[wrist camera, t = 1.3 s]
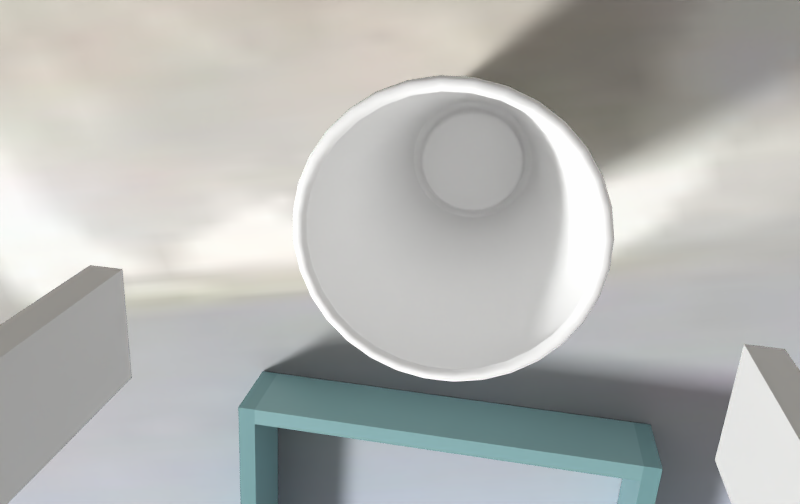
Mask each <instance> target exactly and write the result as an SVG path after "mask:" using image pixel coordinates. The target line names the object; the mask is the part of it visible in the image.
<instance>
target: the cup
mask: <svg viewBox="0 0 800 504" xmlns="http://www.w3.org/2000/svg"><path fill="white" fill-rule="evenodd" d="M293 242H294V246H295V251H296V255H297V260H298V264H299V269H300V271H301V274H302V276H303V278H304V281H305V283H306V285H307V288H308V290H309V292H310V295H311V297H312V298H313V300H314V301H315V303H316V304H317V306H318V307H319V309H320V310H321V312H322V313H323V315H324V316H325V318H326V319H327V320H328V321H329V322H330V323H331V324H332V325H333V327H334V328H335V329H336V330H337V331H338V332H339V333H340V334H341V335H342V336H343V337H344V338H345V339H346V340H347V341H348V342H350V343H351V344H353V345H354V346H355V347H357V348H358V349H360V350H361V351H362V352H364V353H365V354H366V355H368V356H369V357H371V358H373V359H375V360H377V361H379V362H381V363H383V364H385V365H387V366H389V367H391V368H393V369H395V370H398V371H401V372H404V373H408V374H411V375H415V376H418V377H422V378H426V379H435V380H443V381H452V382H456V381H473V380H484V379H489V378H493V377H497V376H501V375H505V374H509V373H512V372H515V371H517V370H519V369H521V368H524V367H526V366H528V365H530V364H533V363H535V362H537V361H539V360H540V359H542V358H543V357H545V356H546V355H547V354H549V353H550V352H552V351H553V350H555V349H556V348H558V347H559V346H560V345H562V344H563V343H564V342H565V341H566V340H567V339H568V338H569V337H570V336H571V335H572V334H573V333H574V332H575V331H576V330H577V329H578V327H579V326H580V325H581V324H582V323H583V322H584V321H585V319H586V317H587V316H588V314H589V313H590V311H591V309H592V308H593V306H594V305H595V303H596V302H597V300H598V298H599V296H600V294H601V291H602V288H603V286H604V283H605V280H606V278H607V275H608V272H609V270H610V263H611V256H612V250H613V243H614V230H613V216H612V206H611V202H610V199H609V195H608V192H607V188H606V185H605V182H604V178H603V175H602V174H601V172H600V170H599V168H598V166H597V164H596V162H595V161H594V159H593V157H592V155H591V153H590V151H589V150H588V148H587V146H586V145H585V144H584V143H583V142H582V141H581V139H580V138H579V137H578V136H577V135H576V133H575V132H574V131H573V130H572V129H571V128H570V126H569V125H568V124H567V123H566V122H565V121H564V120H563V119H561V118H560V117H559V116H557V115H556V114H555V113H554V112H552V111H551V110H550V109H548V108H547V107H546V106H545V105H543V104H542V103H541V102H539V101H538V100H536V99H534V98H532V97H530V96H528V95H526V94H523V93H521V92H519V91H517V90H515V89H513V88H511V87H509V86H507V85H503V84H499V83H495V82H491V81H487V80H484V79H480V78H476V77H462V76H444V75H439V76H433V77H426V78H419V79H412V80H407V81H404V82H401V83H399V84H396V85H393V86H390V87H388V88H385V89H382V90H379V91H377V92H375V93H373V94H372V95H370V96H369V97H367V98H365V99H364V100H362V101H361V102H359V103H357V104H356V105H354V106H353V107H351V108H349V109H348V110H347V111H346V112H345V113H344V114H343V115H342V116H341V117H340V118H339V119H338V120H337V121H336V122H335V123H334V124H333V125H332V126H331V127H330V128H328V129H327V131H326V132H325V134H324V135H323V137H322V138H321V139H320V141H319V142H318V144H317V145H316V147H315V148H314V150H313V151H312V153H311V154H310V156H309V158H308V161H307V163H306V165H305V168H304V170H303V173H302V175H301V178H300V180H299V182H298V187H297V192H296V198H295V203H294V208H293Z"/></svg>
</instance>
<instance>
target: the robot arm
mask: <svg viewBox="0 0 800 504" xmlns="http://www.w3.org/2000/svg"><path fill="white" fill-rule="evenodd" d="M131 378H132V374H131V362H130V351H129V339H128V328H127V317H126V305H125V294H124V283H123V271H122V269H116V268H108V267H100V266H91V265H90V266H88V267H87V268H85V269H84V270H82V271H81V272H79V273H78V274H76V275H75V276H73V277H72V278H70V279H69V280H67V281H66V282H64V283H63V284H61V285H60V286H58V287H57V288H55V289H54V290H52V291H51V292H49V293H48V294H46V295H45V296H43V297H42V298H40V299H39V300H37V301H36V302H34V303H32V304H31V305H29V306H28V307H26V308H25V309H23V310H22V311H20V312H19V313H17V314H16V315H14V316H13V317H11V318H10V319H8V320H7V321H5V322H4V323H2V324H1V325H0V504H8V503H9V502H10V501H11V500H12V499H13V498H14V497H15V496H16V495H17V494H18V493H19V492H20V491H21V490H22V489H23V488H24V487H25V486H26V484H27V483H28V482H29V481H30V480H31V479H32V478H33V477H34V476H35V475H36V474H37V473H38V472H39V471H40V470H41V469H42V468H43V467H44V466H45V465H46V464H47V463H48V462H49V461H50V460H51V459H52V458H53V457H54V456H55V455H56V454H57V453H58V452H59V451H60V450H61V449H62V448H63V447H64V446H65V445H66V444H67V443H68V442H69V441H70V440H71V439H72V438H73V437H74V436H75V435H76V434H77V433H78V432H79V431H80V430H81V429H82V428H83V427H84V426H85V425H86V424H87V423H88V422H89V421H90V420H91V419H92V418H93V417H94V416H95V415H96V414H97V412H98V411H99V410H100V409H101V408H102V407H103V406H104V405H105V404H106V403H107V402H108V401H109V400H110V399H111V398H112V397H113V396H114V395H115V394H116V393H117V392H118V391H119V390H120V389H121V388H122V387H123V386H124V385H125V384H126V383H127V382H128V381H129V380H130V379H131ZM715 462H716V464H717V467H718V470H719V472H720V475H721V478H722V480H723V483H724V485H725V488H726V491H727V493H728V496H729V499H730V501H731V504H800V370H799V369H798V368H797V366H796V365H795V363H794V362H793V360H792V359H791V357H790V356H789V354H788V353H787V351H786V350H785V349H780V348H772V347H763V346H755V345H747V344H744V346H743V350H742V354H741V358H740V362H739V366H738V370H737V374H736V378H735V382H734V386H733V390H732V394H731V398H730V402H729V406H728V410H727V414H726V418H725V422H724V426H723V429H722V433H721V437H720V441H719V445H718V449H717V453H716V457H715Z"/></svg>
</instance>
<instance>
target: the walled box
mask: <svg viewBox="0 0 800 504" xmlns="http://www.w3.org/2000/svg"><path fill="white" fill-rule="evenodd" d="M238 411H239V453H240V496H241V504H278V428H285V429H291V430H298V431H305V432H312V433H318V434H325V435H332V436H339V437H345V438H352V439H359V440H366V441H373V442H379V443H386V444H393V445H400V446H406V447H413V448H420V449H427V450H433V451H440V452H447V453H454V454H461V455H467V456H474V457H481V458H488V459H494V460H501V461H508V462H515V463H521V464H528V465H535V466H542V467H549V468H555V469H562V470H569V471H576V472H582V473H589V474H596V475H603V476H610V477H616V478H622V483H621V488H620V493H619V498H618V503H617V504H655V501H656V496H657V492H658V488H659V483H660V479H661V474H662V470H663V469H662V465H661V461H660V458H659V454H658V450H657V447H656V443H655V439H654V436H653V432H652V428H651V425H649V424H642V423H635V422H627V421H620V420H613V419H606V418H598V417H591V416H584V415H577V414H569V413H562V412H555V411H548V410H540V409H533V408H526V407H519V406H511V405H504V404H497V403H489V402H482V401H475V400H468V399H460V398H453V397H446V396H439V395H431V394H424V393H417V392H410V391H402V390H395V389H388V388H381V387H373V386H366V385H359V384H351V383H344V382H337V381H330V380H322V379H315V378H308V377H301V376H293V375H286V374H279V373H272V372H264V371H263V372H262V373H261V375H260V376H259V378H258V379H257V381H256V382H255V384H254V385H253V387H252V388H251V390H250V391H249V393H248V394H247V396H246V397H245V398H244V400H243V401H242V403H241V404H240V406H239V407H238Z"/></svg>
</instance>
